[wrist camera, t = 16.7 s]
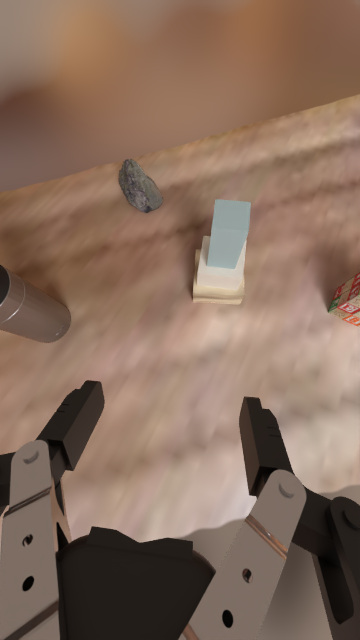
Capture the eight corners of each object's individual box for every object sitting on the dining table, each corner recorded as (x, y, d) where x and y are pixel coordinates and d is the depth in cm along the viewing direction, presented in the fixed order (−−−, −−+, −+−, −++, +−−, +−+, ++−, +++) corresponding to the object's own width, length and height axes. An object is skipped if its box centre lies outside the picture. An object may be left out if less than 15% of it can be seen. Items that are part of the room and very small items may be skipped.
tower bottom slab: (239, 304, 49) (244, 295, 44) (192, 302, 49) (193, 293, 45) (239, 264, 52) (243, 251, 47) (195, 262, 52) (195, 249, 48)
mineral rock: (120, 178, 61) (107, 138, 51) (160, 173, 60) (154, 132, 51) (122, 217, 57) (108, 182, 47) (164, 212, 57) (158, 176, 47)
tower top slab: (237, 290, 44) (242, 278, 40) (197, 285, 45) (197, 273, 40) (241, 255, 47) (246, 240, 42) (202, 251, 47) (203, 235, 43)
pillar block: (234, 269, 40) (248, 231, 31) (206, 266, 41) (211, 227, 31) (237, 245, 42) (250, 202, 32) (210, 242, 42) (215, 199, 32)
